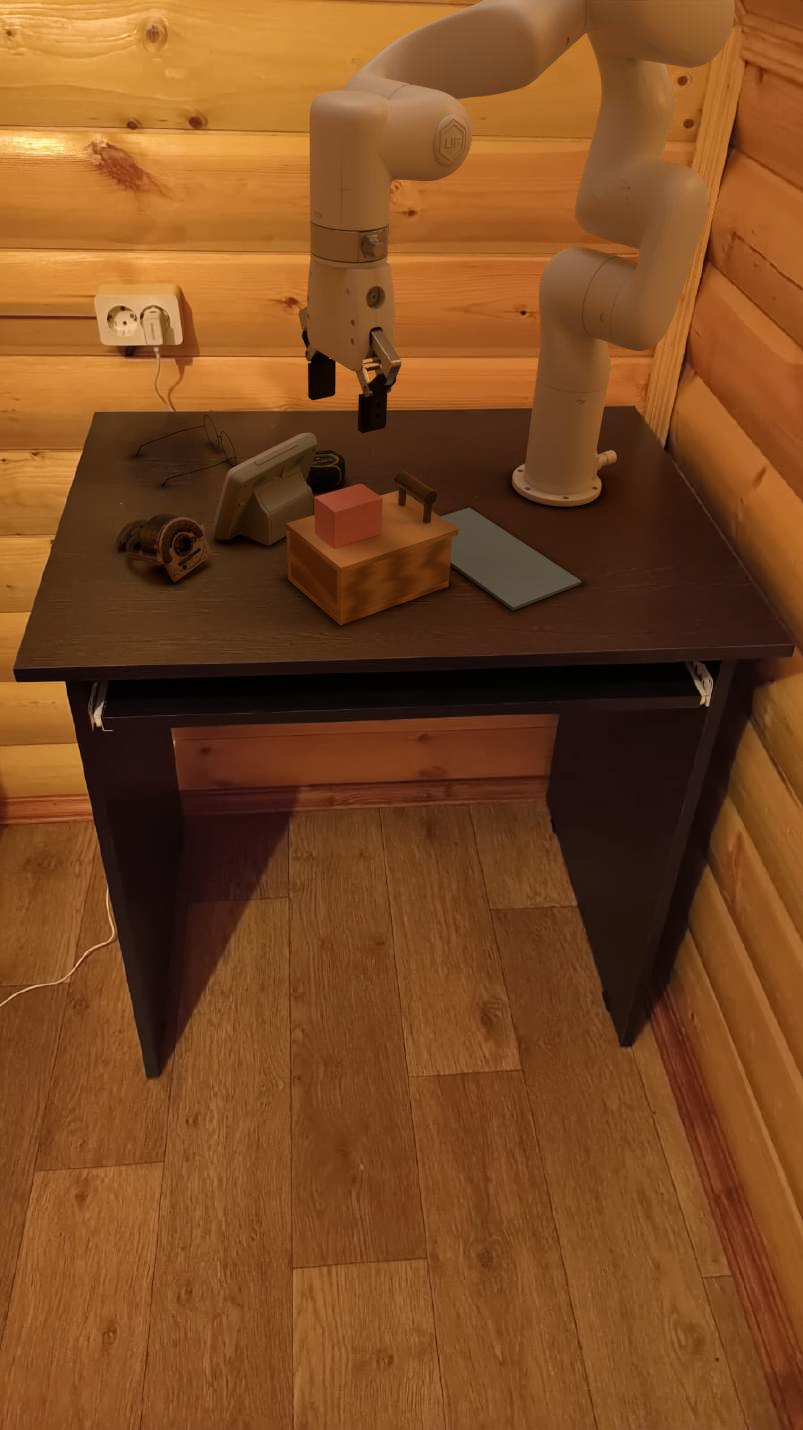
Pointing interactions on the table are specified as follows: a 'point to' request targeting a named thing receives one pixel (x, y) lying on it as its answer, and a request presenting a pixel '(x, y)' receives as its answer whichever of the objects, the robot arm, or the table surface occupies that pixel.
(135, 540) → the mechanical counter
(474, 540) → the mat
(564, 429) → the robot arm
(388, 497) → the lid
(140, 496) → the table surface
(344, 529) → the eraser
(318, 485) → the tape measure
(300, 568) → the pencil box
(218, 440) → the eyeglasses
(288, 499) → the digital clock
